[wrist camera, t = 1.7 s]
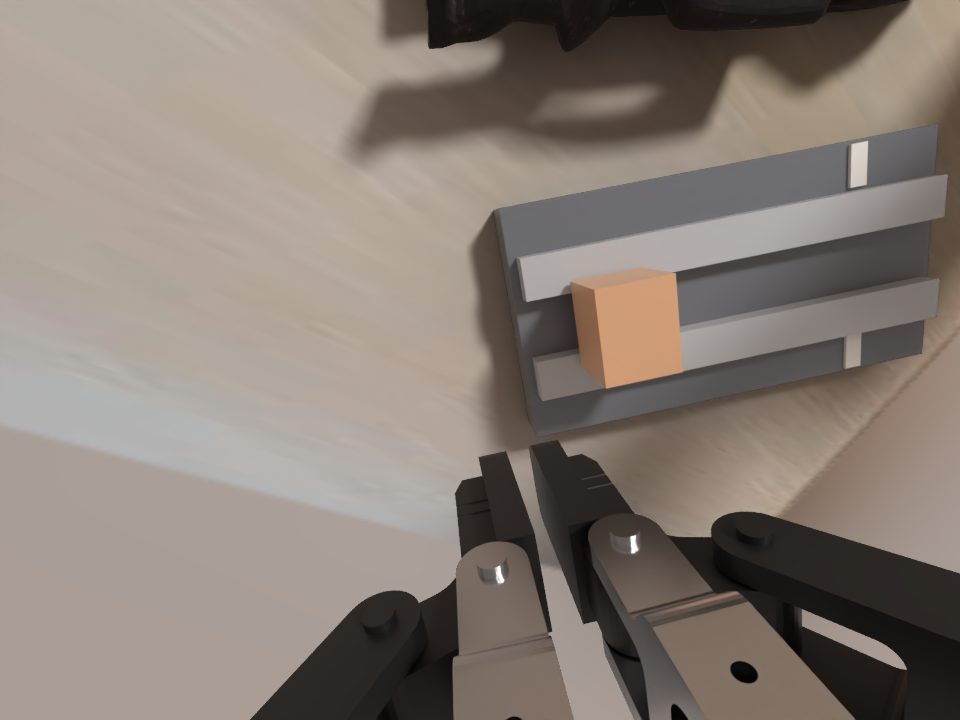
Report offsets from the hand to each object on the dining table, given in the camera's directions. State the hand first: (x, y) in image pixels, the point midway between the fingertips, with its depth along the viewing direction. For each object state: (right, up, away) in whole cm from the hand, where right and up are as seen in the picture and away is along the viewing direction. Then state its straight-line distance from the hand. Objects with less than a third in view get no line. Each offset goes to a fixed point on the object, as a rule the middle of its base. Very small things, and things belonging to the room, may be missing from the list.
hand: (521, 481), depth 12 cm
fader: (+6, +6, +16) cm, 18 cm away
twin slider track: (+14, +8, +19) cm, 25 cm away
